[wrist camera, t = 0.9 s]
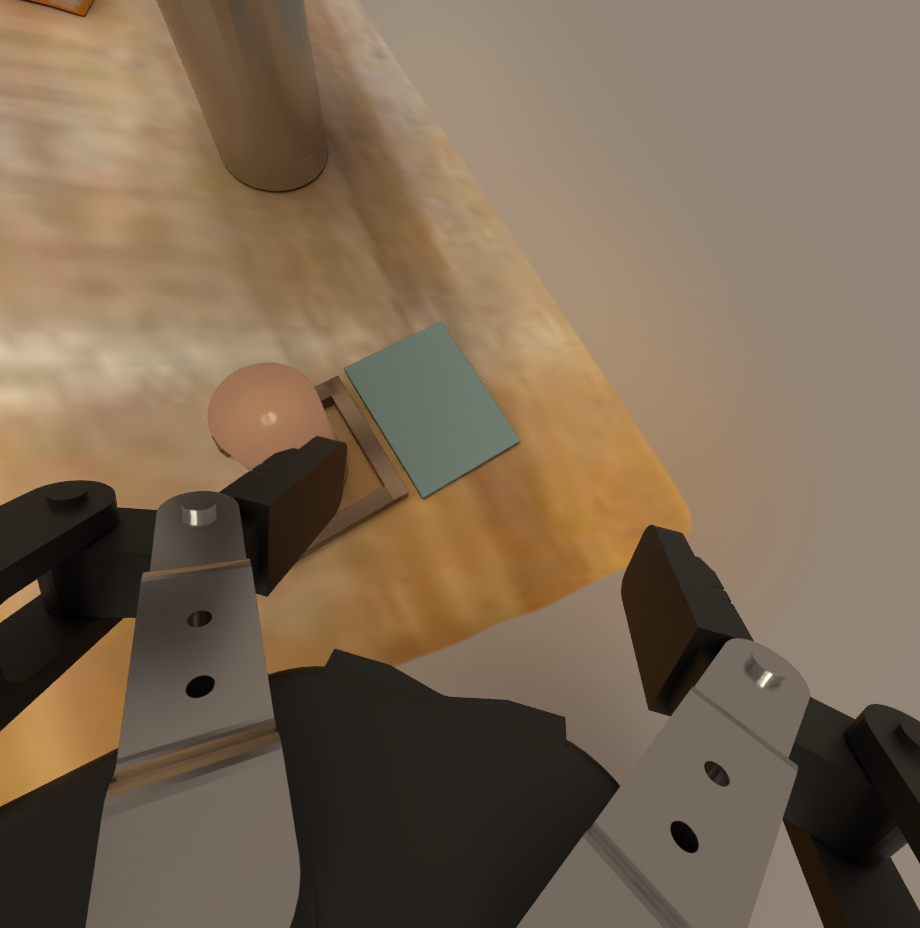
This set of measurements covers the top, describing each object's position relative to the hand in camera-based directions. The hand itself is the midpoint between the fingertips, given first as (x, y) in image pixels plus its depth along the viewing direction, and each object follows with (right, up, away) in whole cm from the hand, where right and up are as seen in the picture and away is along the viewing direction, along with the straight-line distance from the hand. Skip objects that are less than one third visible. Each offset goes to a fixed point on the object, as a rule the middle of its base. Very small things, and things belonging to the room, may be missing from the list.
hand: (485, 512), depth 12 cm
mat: (-3, +6, +24) cm, 25 cm away
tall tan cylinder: (-12, +1, +21) cm, 24 cm away
